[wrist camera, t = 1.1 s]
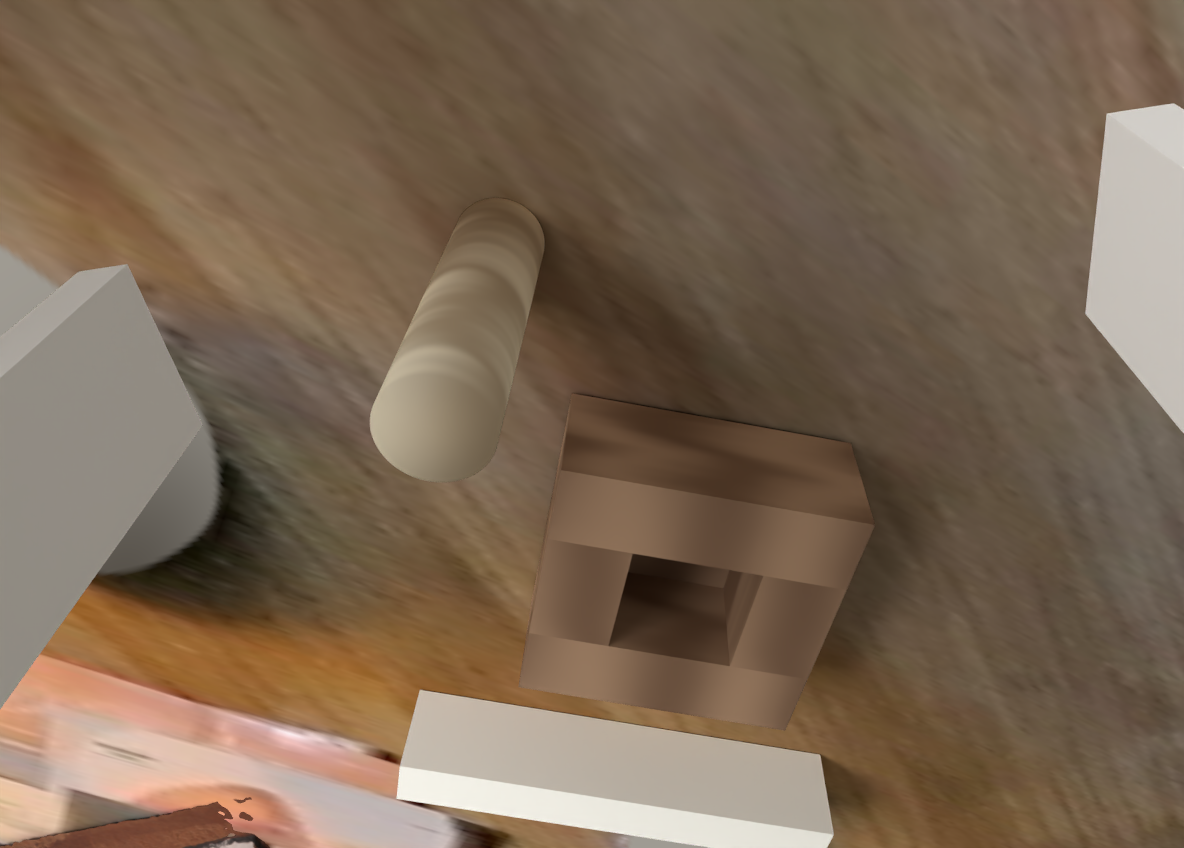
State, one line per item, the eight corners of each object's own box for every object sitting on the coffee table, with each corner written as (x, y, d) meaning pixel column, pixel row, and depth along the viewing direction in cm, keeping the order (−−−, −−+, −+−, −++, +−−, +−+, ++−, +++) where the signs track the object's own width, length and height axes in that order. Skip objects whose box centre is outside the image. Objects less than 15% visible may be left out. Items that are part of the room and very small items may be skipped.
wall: (416, 721, 48) (396, 798, 45) (420, 689, 47) (399, 766, 43) (805, 784, 49) (818, 864, 46) (820, 754, 48) (833, 834, 44)
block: (531, 599, 43) (518, 686, 39) (571, 393, 37) (561, 470, 33) (772, 640, 44) (784, 730, 39) (850, 443, 38) (875, 525, 33)
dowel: (450, 274, 35) (366, 470, 25) (458, 189, 33) (372, 363, 23) (538, 290, 35) (490, 491, 25) (550, 207, 33) (506, 387, 23)
